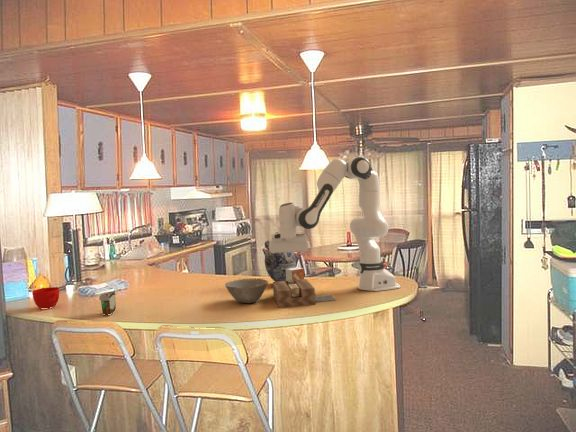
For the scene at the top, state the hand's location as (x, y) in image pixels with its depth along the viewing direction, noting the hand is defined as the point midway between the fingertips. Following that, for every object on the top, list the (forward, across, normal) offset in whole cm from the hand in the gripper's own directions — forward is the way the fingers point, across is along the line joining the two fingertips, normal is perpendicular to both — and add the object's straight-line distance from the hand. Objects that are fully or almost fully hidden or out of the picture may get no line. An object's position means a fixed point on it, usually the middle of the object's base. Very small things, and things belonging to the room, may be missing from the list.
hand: (289, 260), depth 259 cm
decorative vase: (+20, +1, -35) cm, 40 cm away
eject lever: (+17, 0, +7) cm, 18 cm away
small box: (+20, -4, -12) cm, 23 cm away
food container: (+21, +93, +1) cm, 95 cm away
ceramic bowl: (+20, +23, +1) cm, 30 cm away
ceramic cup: (+21, +128, -22) cm, 131 cm away
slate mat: (+19, -15, +10) cm, 27 cm away
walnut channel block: (+19, 0, +7) cm, 21 cm away
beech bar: (+15, 0, +10) cm, 19 cm away
